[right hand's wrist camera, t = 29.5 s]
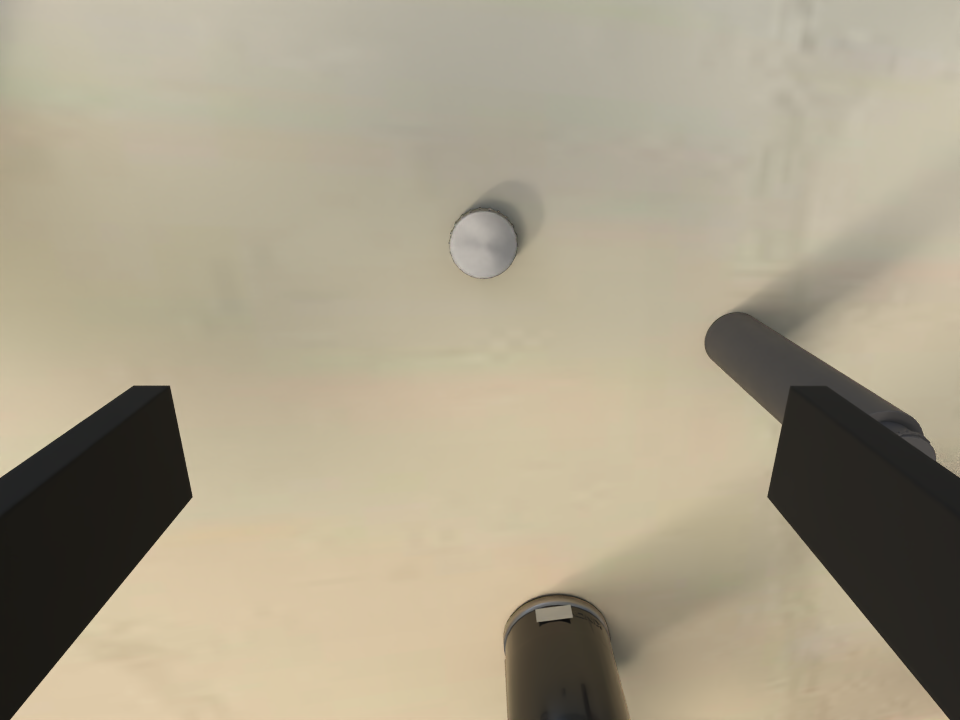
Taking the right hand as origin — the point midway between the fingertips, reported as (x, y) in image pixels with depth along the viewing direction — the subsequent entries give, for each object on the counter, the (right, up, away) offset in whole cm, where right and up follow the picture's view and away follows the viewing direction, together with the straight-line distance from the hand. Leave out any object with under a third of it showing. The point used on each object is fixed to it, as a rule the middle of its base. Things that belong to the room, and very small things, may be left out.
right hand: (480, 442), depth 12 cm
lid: (0, +9, +26) cm, 28 cm away
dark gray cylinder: (+18, +3, +30) cm, 35 cm away
